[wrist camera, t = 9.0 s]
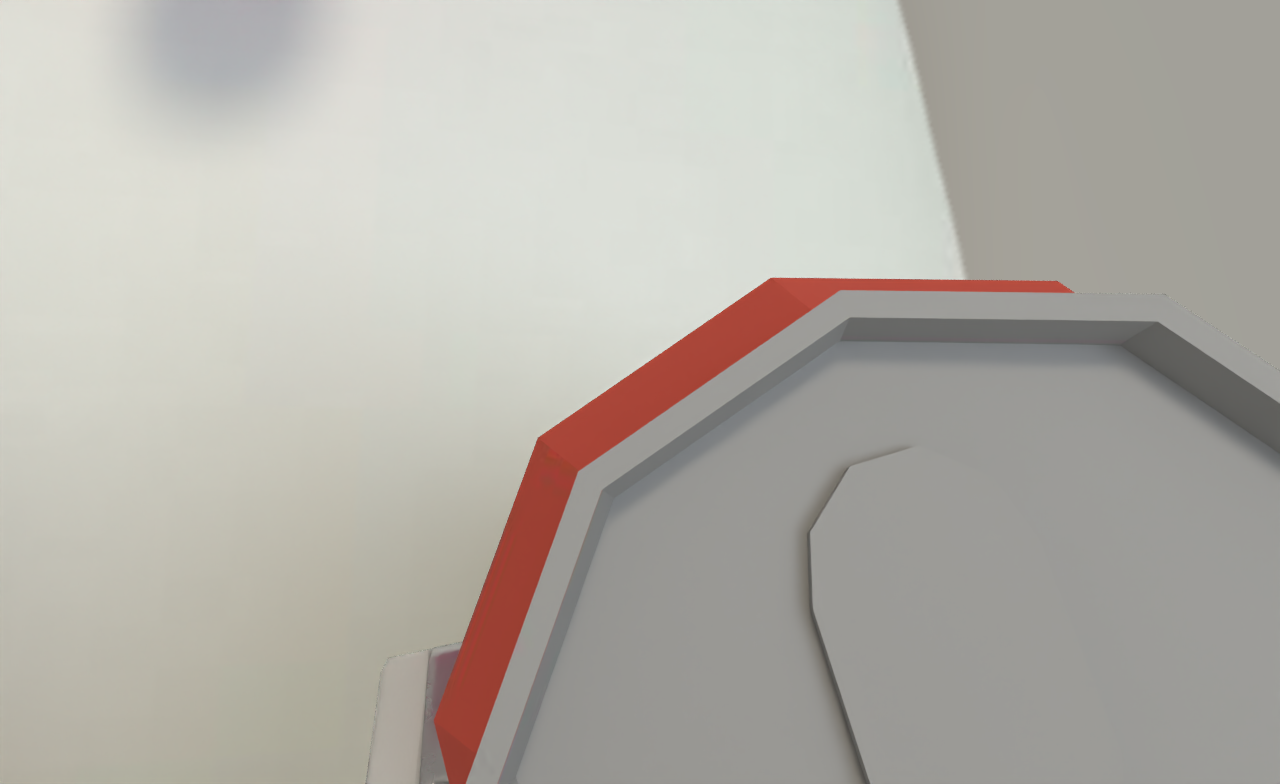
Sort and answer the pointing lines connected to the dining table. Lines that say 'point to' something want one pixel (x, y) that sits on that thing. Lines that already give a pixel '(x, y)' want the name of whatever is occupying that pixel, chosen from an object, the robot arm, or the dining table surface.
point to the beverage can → (894, 553)
